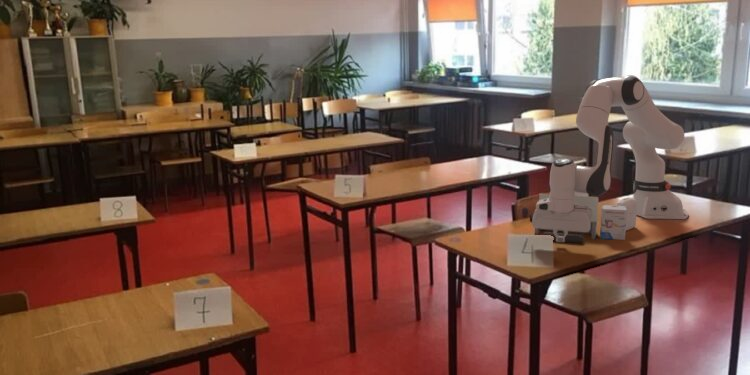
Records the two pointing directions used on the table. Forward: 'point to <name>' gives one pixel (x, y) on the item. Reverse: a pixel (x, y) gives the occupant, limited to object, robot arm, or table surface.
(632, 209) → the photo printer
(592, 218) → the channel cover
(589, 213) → the robot arm
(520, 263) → the table surface
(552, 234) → the dark grey bar
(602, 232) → the ink box
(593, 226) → the cable channel
